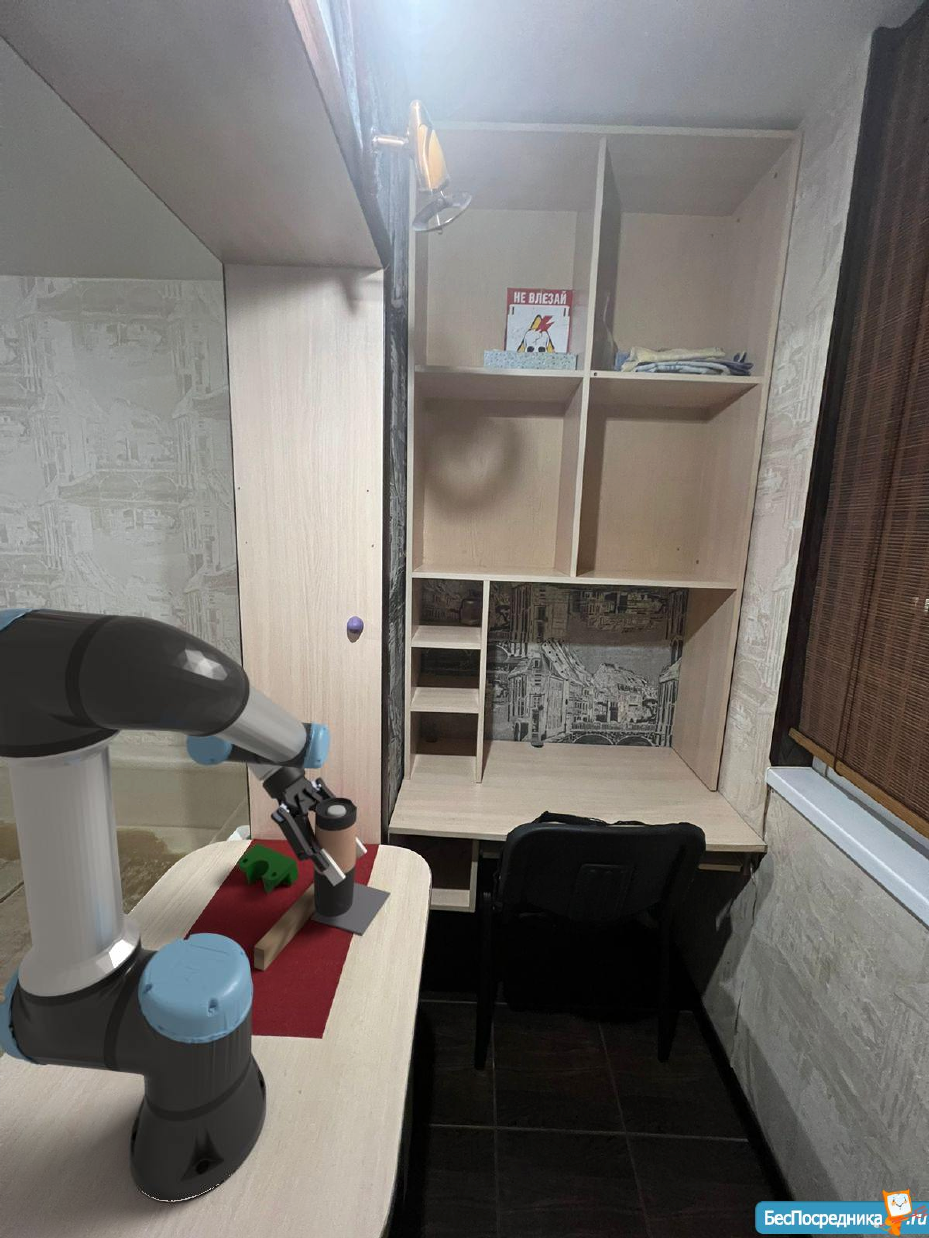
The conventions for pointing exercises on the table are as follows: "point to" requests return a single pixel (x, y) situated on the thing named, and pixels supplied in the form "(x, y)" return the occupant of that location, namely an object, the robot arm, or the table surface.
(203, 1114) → the robot arm
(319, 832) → the travel mug
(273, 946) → the rail
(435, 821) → the table surface
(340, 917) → the end mat
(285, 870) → the clamp
